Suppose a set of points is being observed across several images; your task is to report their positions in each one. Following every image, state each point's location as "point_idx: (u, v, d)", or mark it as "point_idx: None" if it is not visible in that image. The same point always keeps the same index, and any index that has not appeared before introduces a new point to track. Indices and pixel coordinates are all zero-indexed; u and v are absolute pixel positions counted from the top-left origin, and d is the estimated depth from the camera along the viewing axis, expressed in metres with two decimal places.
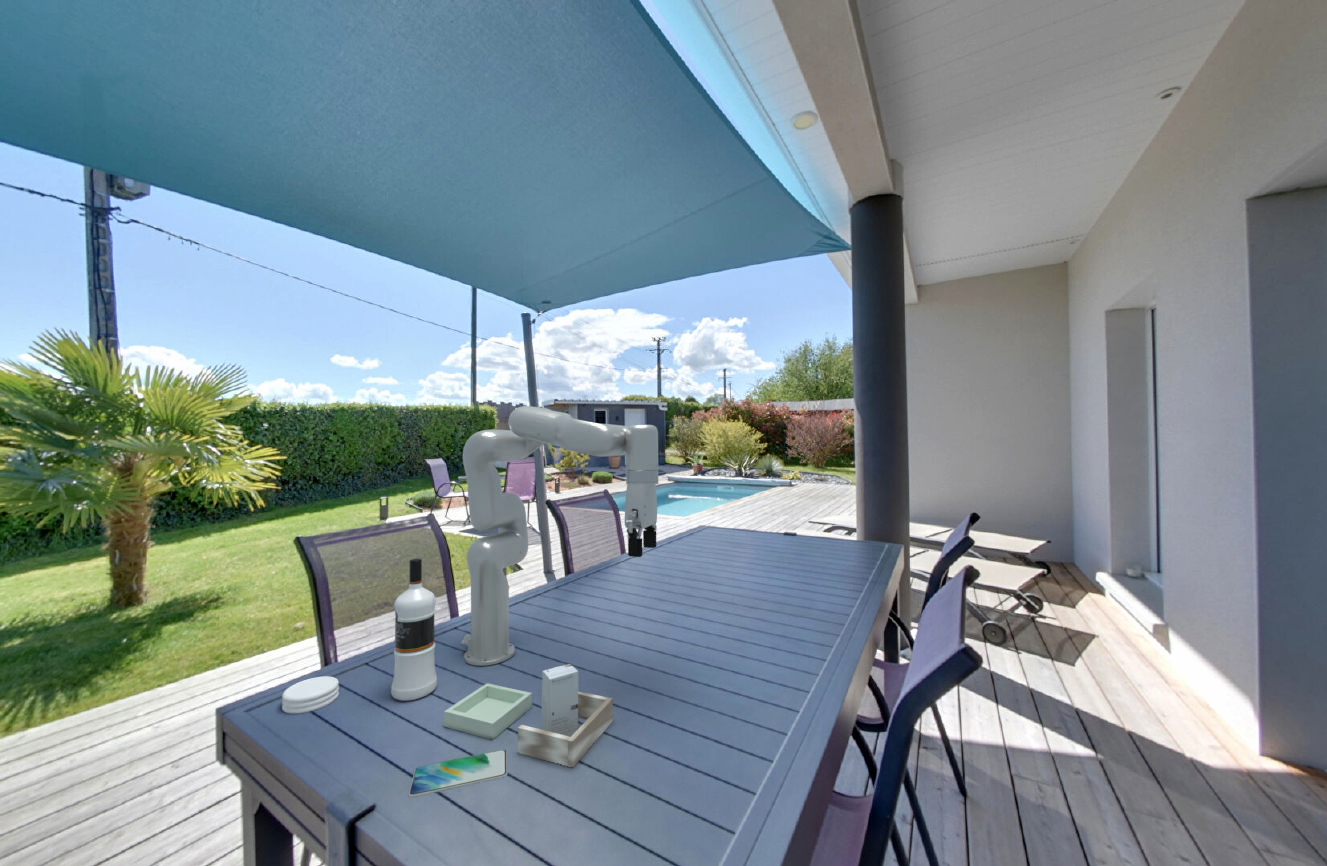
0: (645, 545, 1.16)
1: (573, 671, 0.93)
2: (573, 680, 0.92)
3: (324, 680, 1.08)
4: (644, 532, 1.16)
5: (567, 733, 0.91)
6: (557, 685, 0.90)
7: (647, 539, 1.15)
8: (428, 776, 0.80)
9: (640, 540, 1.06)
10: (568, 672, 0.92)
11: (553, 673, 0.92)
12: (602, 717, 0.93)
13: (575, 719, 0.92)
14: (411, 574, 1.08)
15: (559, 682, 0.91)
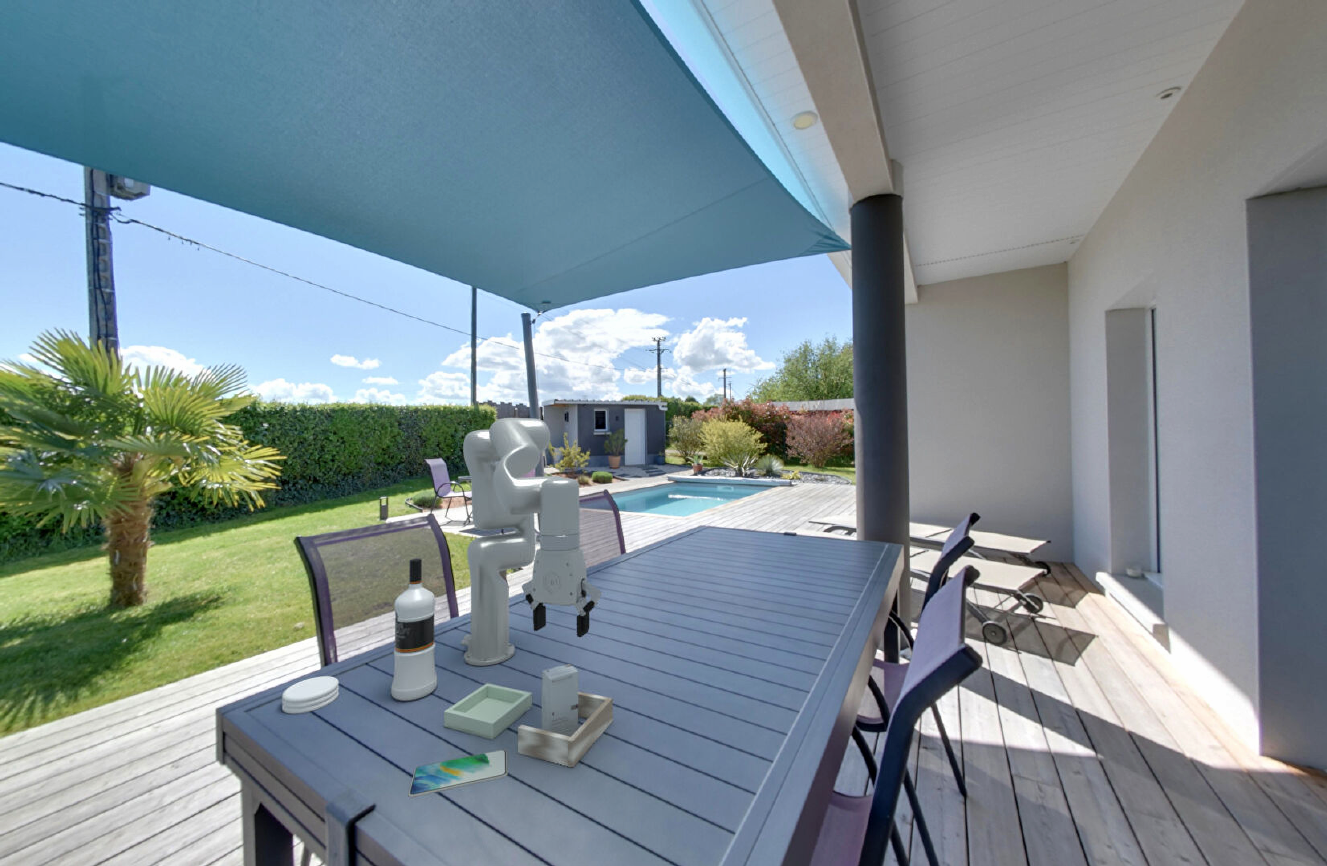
0: (538, 628, 0.93)
1: (573, 671, 0.93)
2: (573, 680, 0.92)
3: (324, 680, 1.08)
4: (537, 612, 0.93)
5: (567, 733, 0.91)
6: (557, 685, 0.90)
7: (540, 619, 0.94)
8: (428, 776, 0.80)
9: None
10: (568, 672, 0.92)
11: (553, 673, 0.92)
12: (602, 717, 0.93)
13: (575, 719, 0.92)
14: (411, 574, 1.08)
15: (559, 682, 0.91)
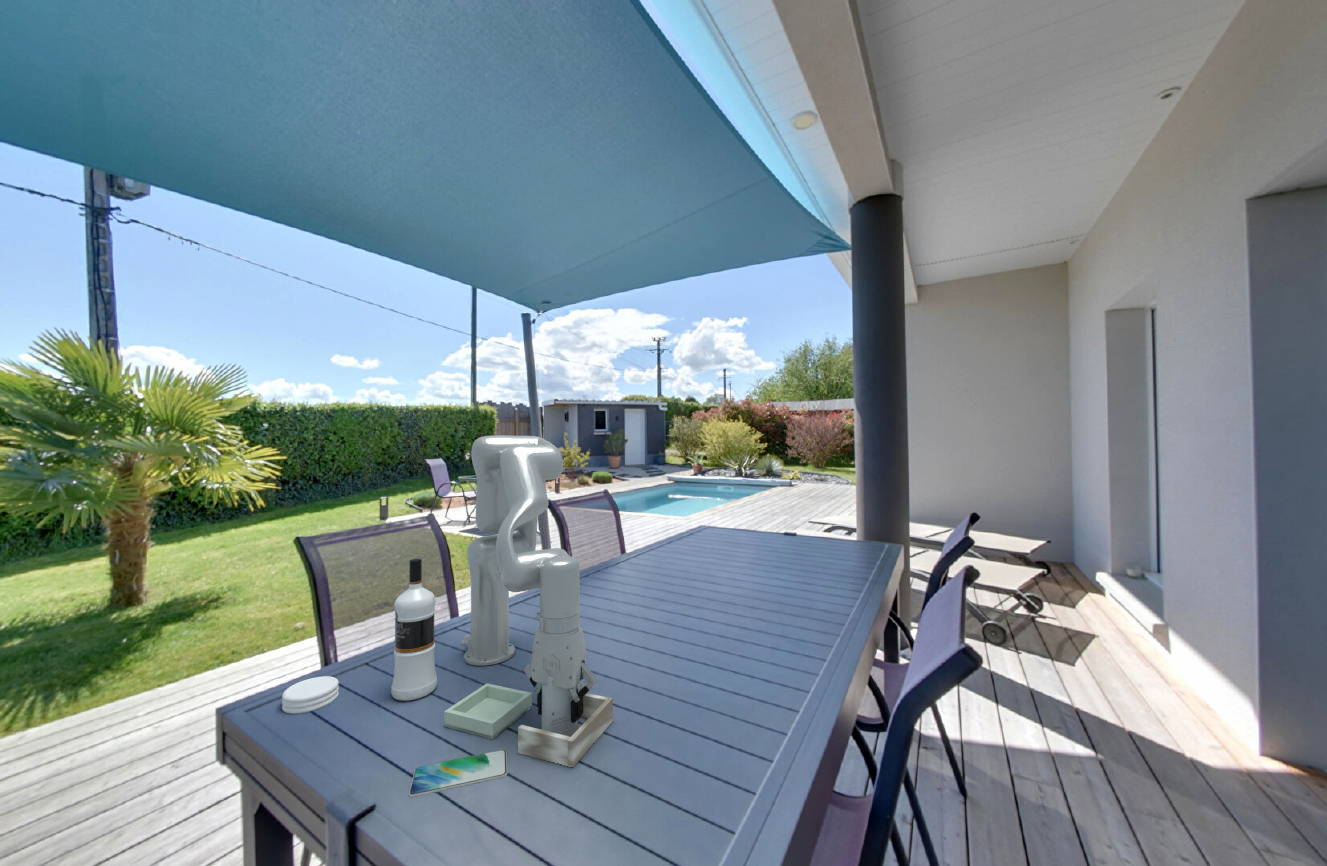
0: None
1: None
2: None
3: (324, 680, 1.08)
4: None
5: (567, 733, 0.91)
6: None
7: None
8: (428, 776, 0.80)
9: None
10: None
11: None
12: (602, 717, 0.93)
13: None
14: (411, 574, 1.08)
15: None
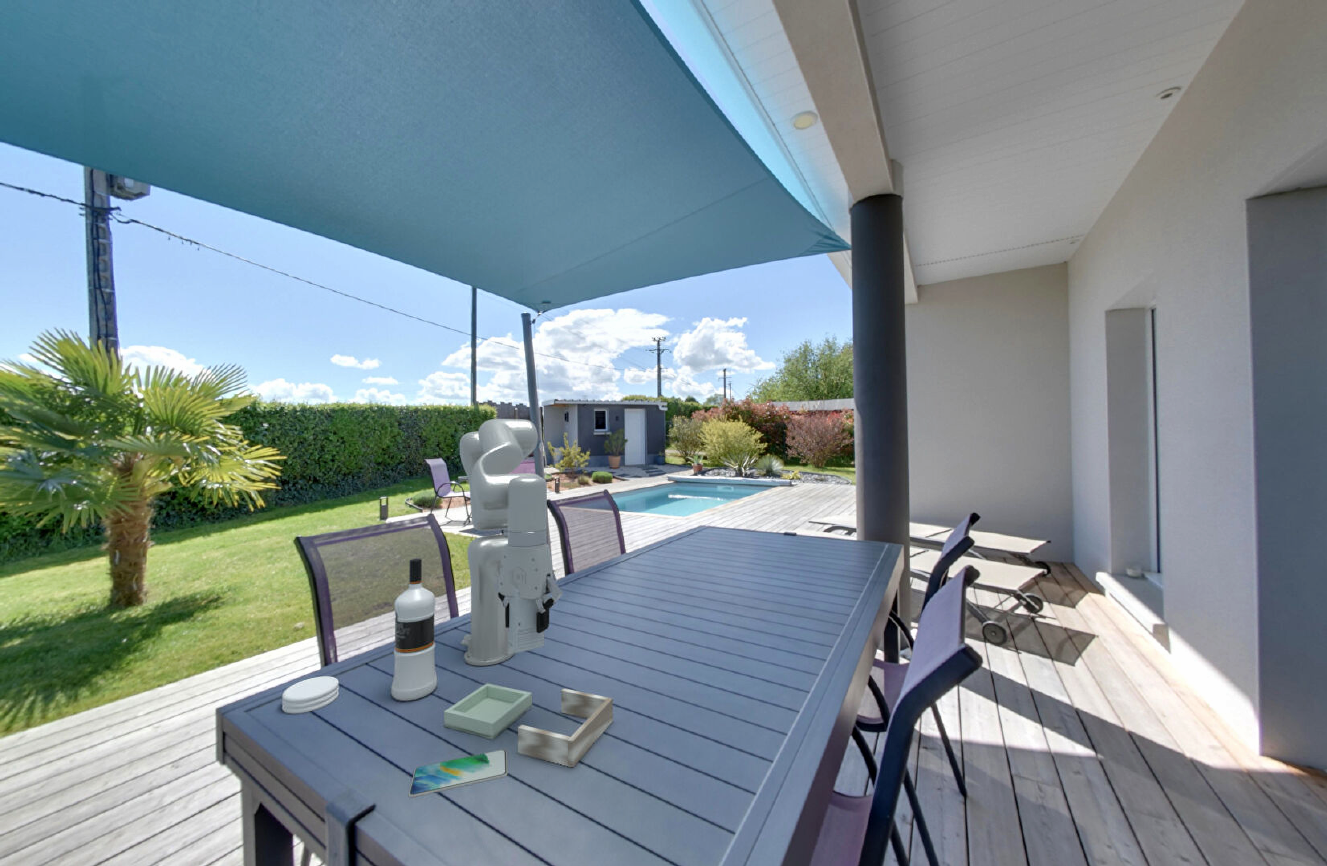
0: None
1: None
2: None
3: (324, 680, 1.08)
4: None
5: (533, 644, 0.94)
6: None
7: None
8: (428, 776, 0.80)
9: None
10: None
11: None
12: (602, 717, 0.93)
13: None
14: (411, 574, 1.08)
15: None
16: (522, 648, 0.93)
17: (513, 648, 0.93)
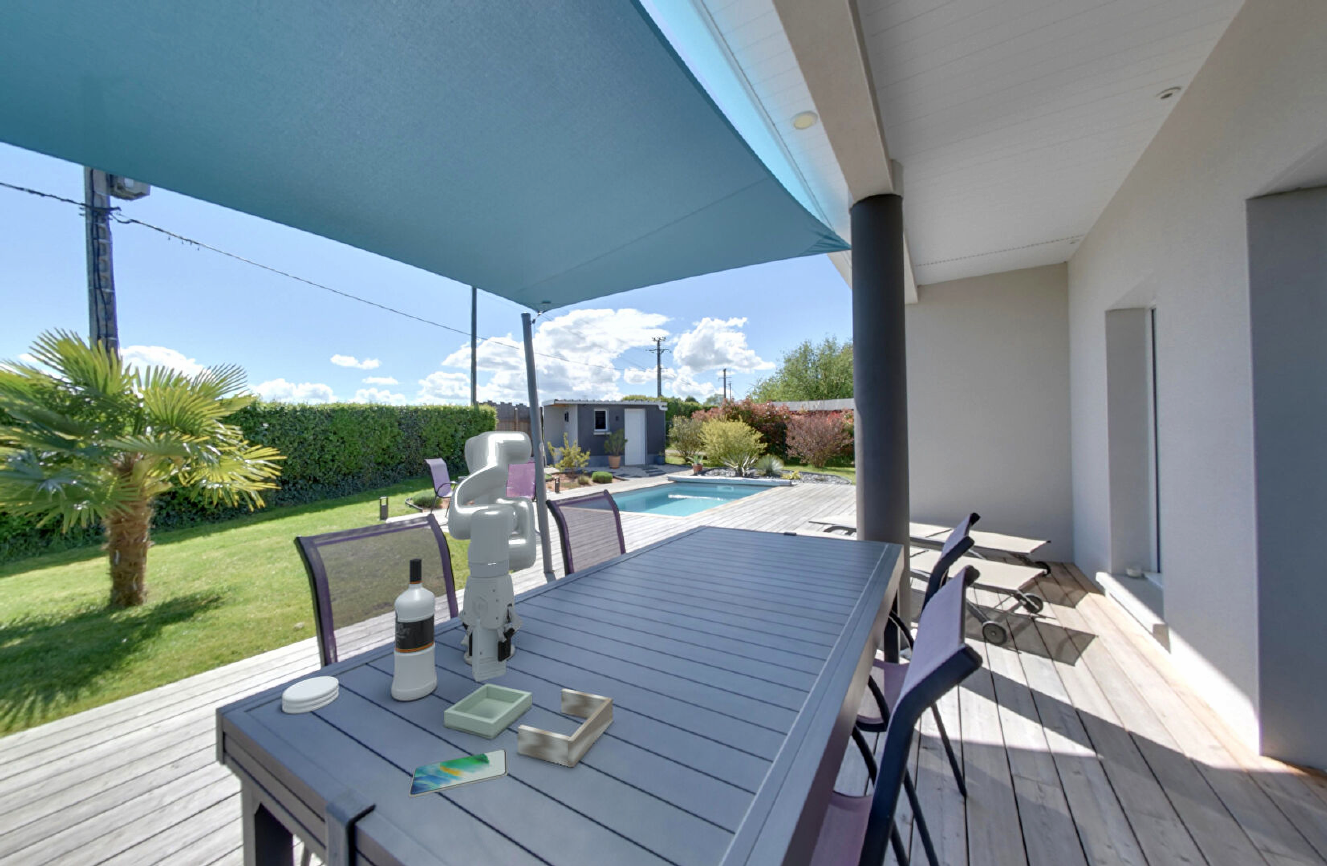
0: None
1: None
2: None
3: (324, 680, 1.08)
4: (472, 638, 0.99)
5: (495, 672, 0.97)
6: None
7: None
8: (428, 776, 0.80)
9: None
10: None
11: None
12: (602, 717, 0.93)
13: None
14: (411, 574, 1.08)
15: None
16: (483, 677, 0.96)
17: (475, 676, 0.96)
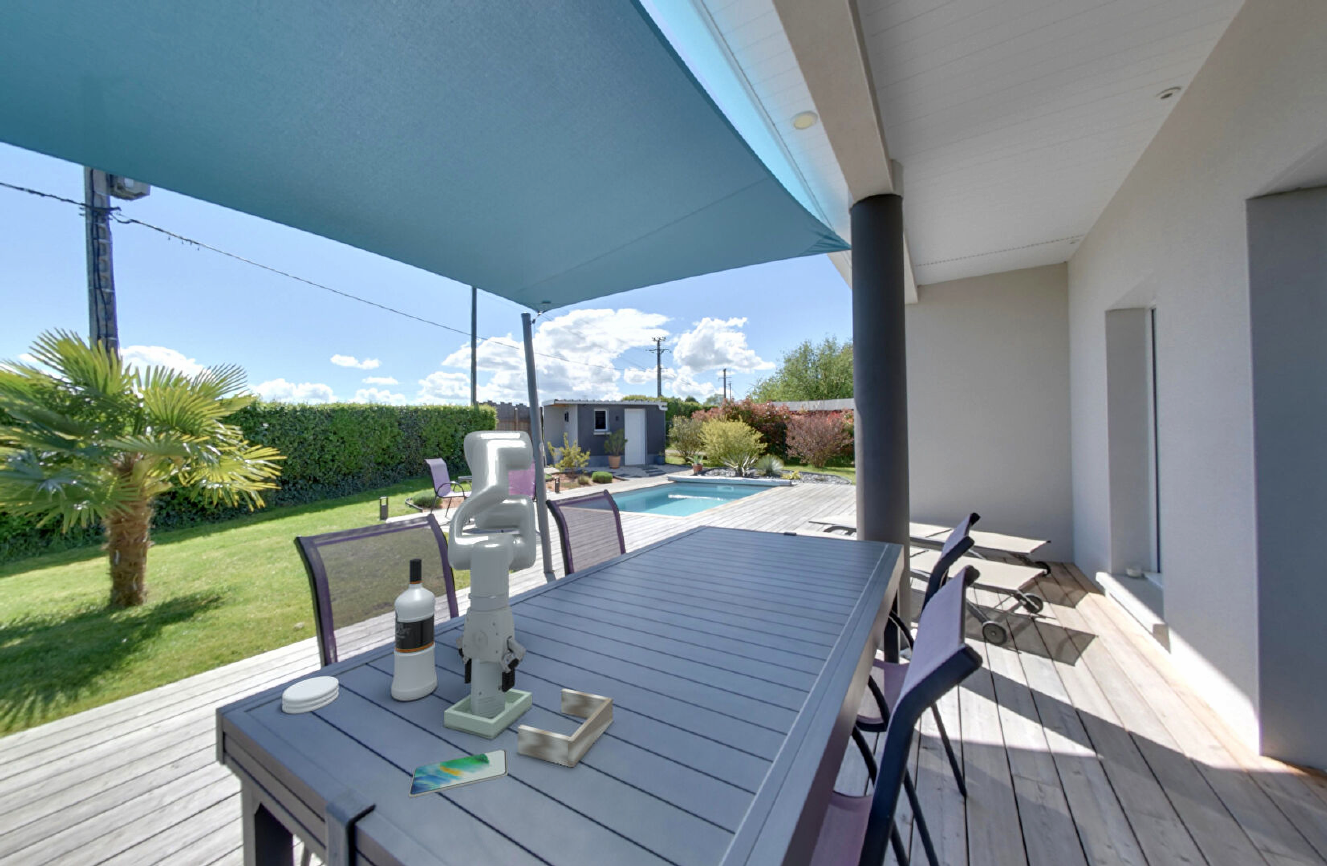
0: (469, 681, 0.99)
1: None
2: None
3: (324, 680, 1.08)
4: (468, 666, 0.99)
5: (494, 712, 0.97)
6: (484, 667, 0.97)
7: None
8: (428, 776, 0.80)
9: None
10: None
11: None
12: (602, 717, 0.93)
13: (502, 698, 0.98)
14: (411, 574, 1.08)
15: (487, 664, 0.97)
16: (483, 717, 0.96)
17: None
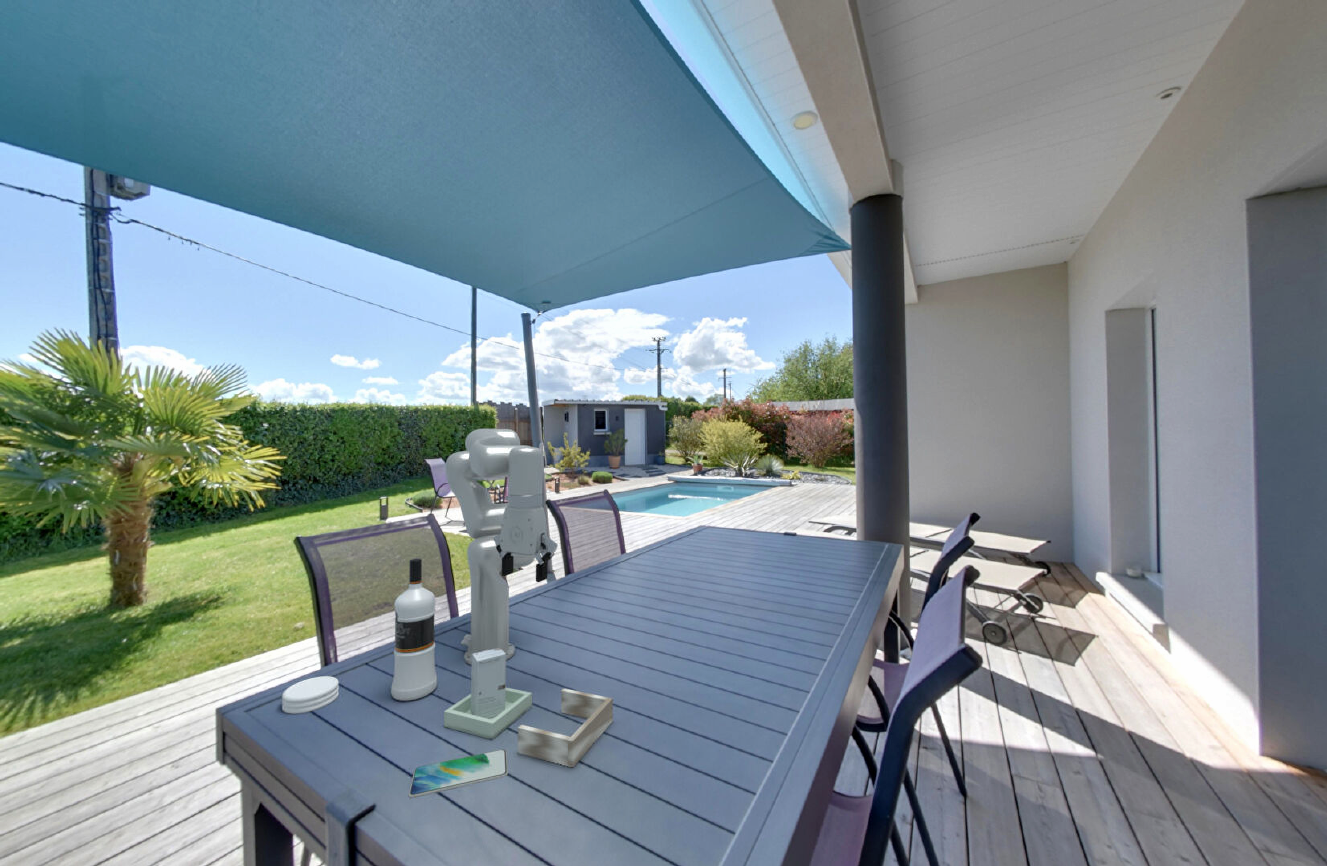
0: (505, 573, 1.09)
1: (501, 654, 0.99)
2: (501, 662, 0.99)
3: (324, 680, 1.08)
4: (505, 560, 1.09)
5: (494, 712, 0.97)
6: (484, 666, 0.97)
7: (507, 566, 1.10)
8: (428, 776, 0.80)
9: None
10: (496, 654, 0.99)
11: (481, 655, 0.98)
12: (602, 717, 0.93)
13: (502, 698, 0.98)
14: (411, 574, 1.08)
15: (487, 664, 0.97)
16: (483, 717, 0.96)
17: None
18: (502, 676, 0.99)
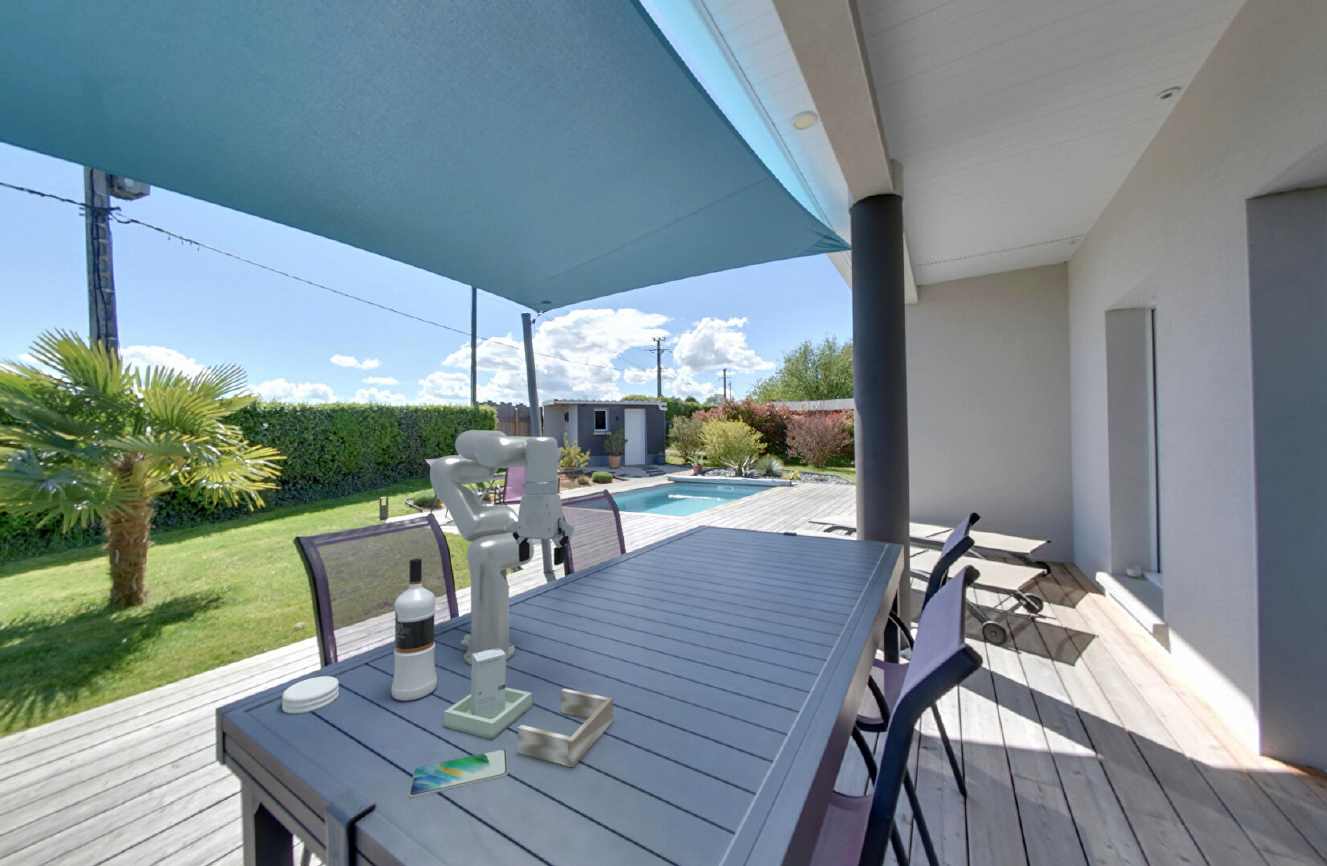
0: (523, 559, 1.13)
1: (501, 654, 0.99)
2: (501, 662, 0.99)
3: (324, 680, 1.08)
4: (522, 546, 1.13)
5: (494, 712, 0.97)
6: (484, 666, 0.97)
7: (524, 552, 1.14)
8: (428, 776, 0.80)
9: None
10: (496, 654, 0.99)
11: (481, 655, 0.98)
12: (602, 717, 0.93)
13: (502, 698, 0.98)
14: (411, 574, 1.08)
15: (487, 664, 0.97)
16: (483, 717, 0.96)
17: None
18: (502, 676, 0.99)
